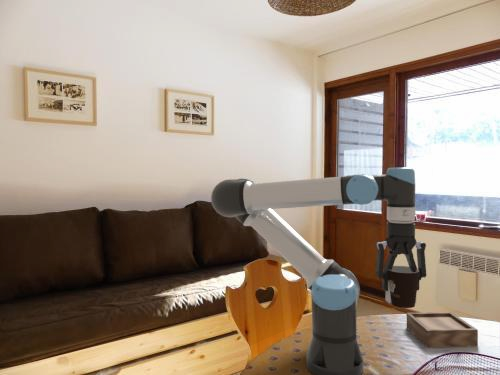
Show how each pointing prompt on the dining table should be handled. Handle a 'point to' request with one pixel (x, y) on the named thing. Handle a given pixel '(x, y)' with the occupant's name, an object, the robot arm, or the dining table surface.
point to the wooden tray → (442, 329)
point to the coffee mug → (403, 286)
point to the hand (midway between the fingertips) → (400, 301)
